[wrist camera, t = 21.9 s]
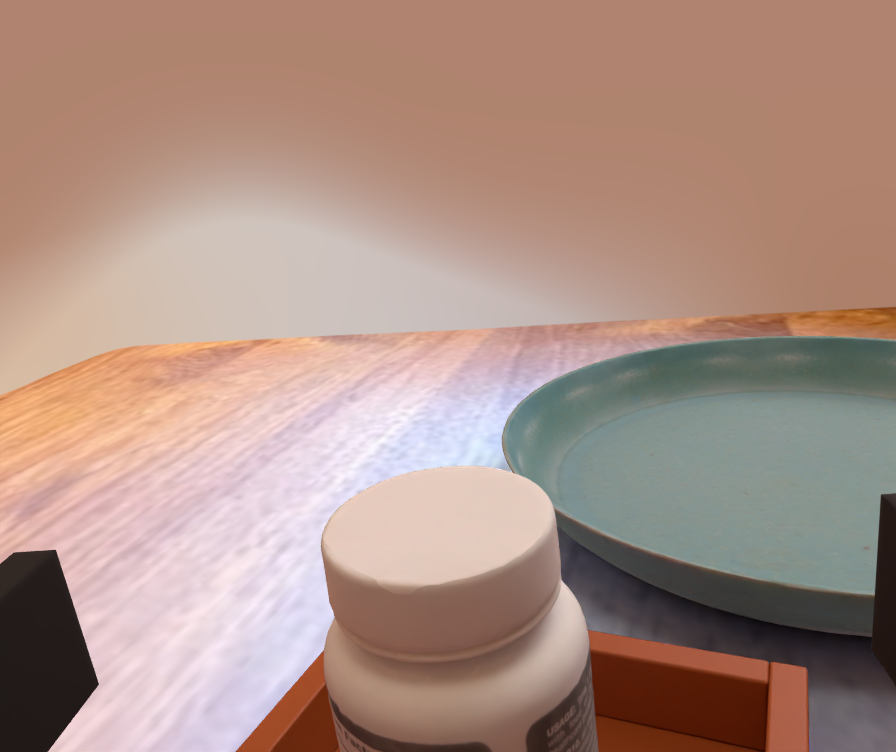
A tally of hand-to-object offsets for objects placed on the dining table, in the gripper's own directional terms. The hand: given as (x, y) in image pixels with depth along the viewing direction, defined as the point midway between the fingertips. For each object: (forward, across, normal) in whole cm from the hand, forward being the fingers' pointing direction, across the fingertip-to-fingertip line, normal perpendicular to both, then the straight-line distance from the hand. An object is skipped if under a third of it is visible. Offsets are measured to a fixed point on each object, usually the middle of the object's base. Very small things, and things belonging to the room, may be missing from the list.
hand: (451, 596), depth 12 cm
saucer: (+18, +12, -8) cm, 23 cm away
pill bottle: (+1, 0, -8) cm, 8 cm away
